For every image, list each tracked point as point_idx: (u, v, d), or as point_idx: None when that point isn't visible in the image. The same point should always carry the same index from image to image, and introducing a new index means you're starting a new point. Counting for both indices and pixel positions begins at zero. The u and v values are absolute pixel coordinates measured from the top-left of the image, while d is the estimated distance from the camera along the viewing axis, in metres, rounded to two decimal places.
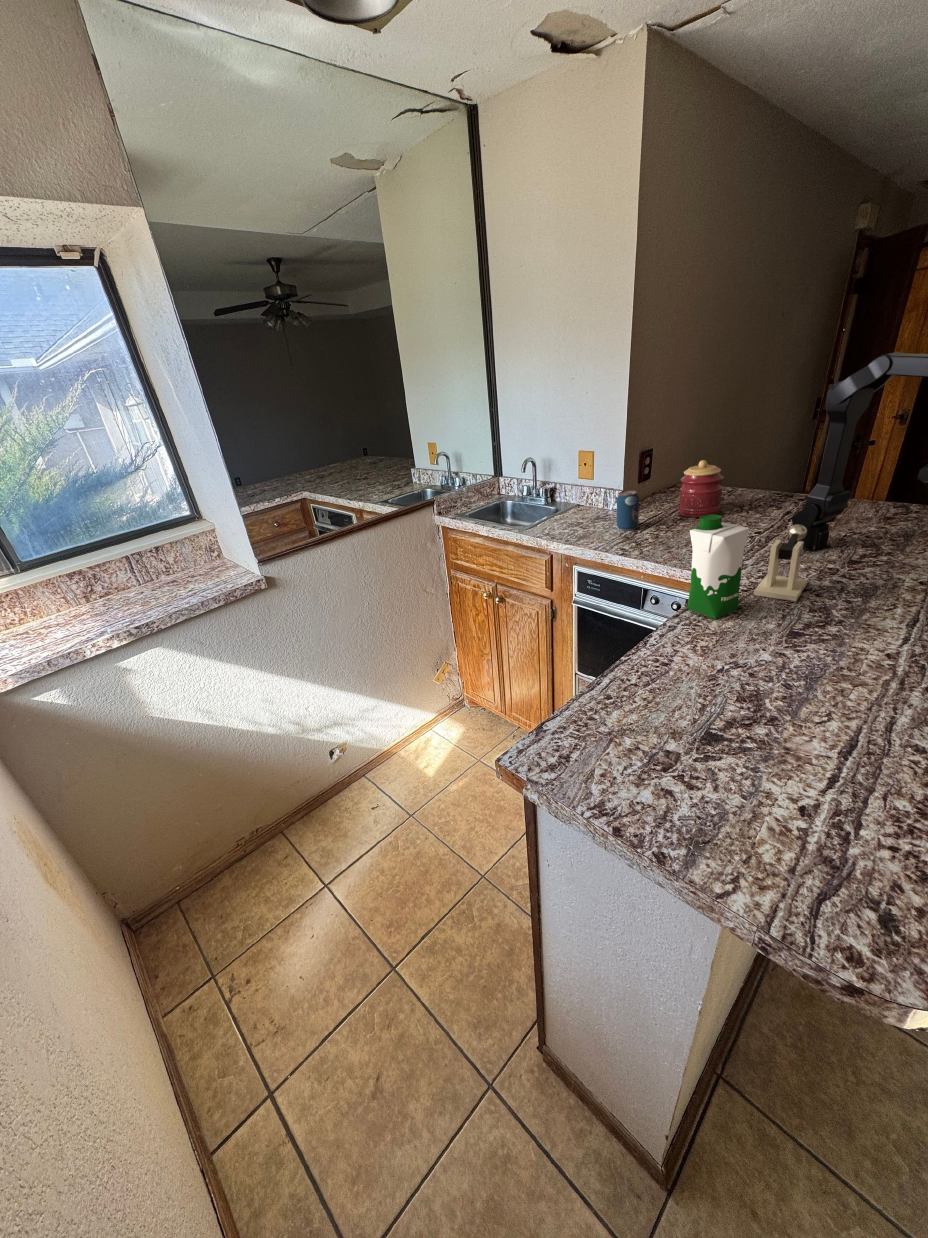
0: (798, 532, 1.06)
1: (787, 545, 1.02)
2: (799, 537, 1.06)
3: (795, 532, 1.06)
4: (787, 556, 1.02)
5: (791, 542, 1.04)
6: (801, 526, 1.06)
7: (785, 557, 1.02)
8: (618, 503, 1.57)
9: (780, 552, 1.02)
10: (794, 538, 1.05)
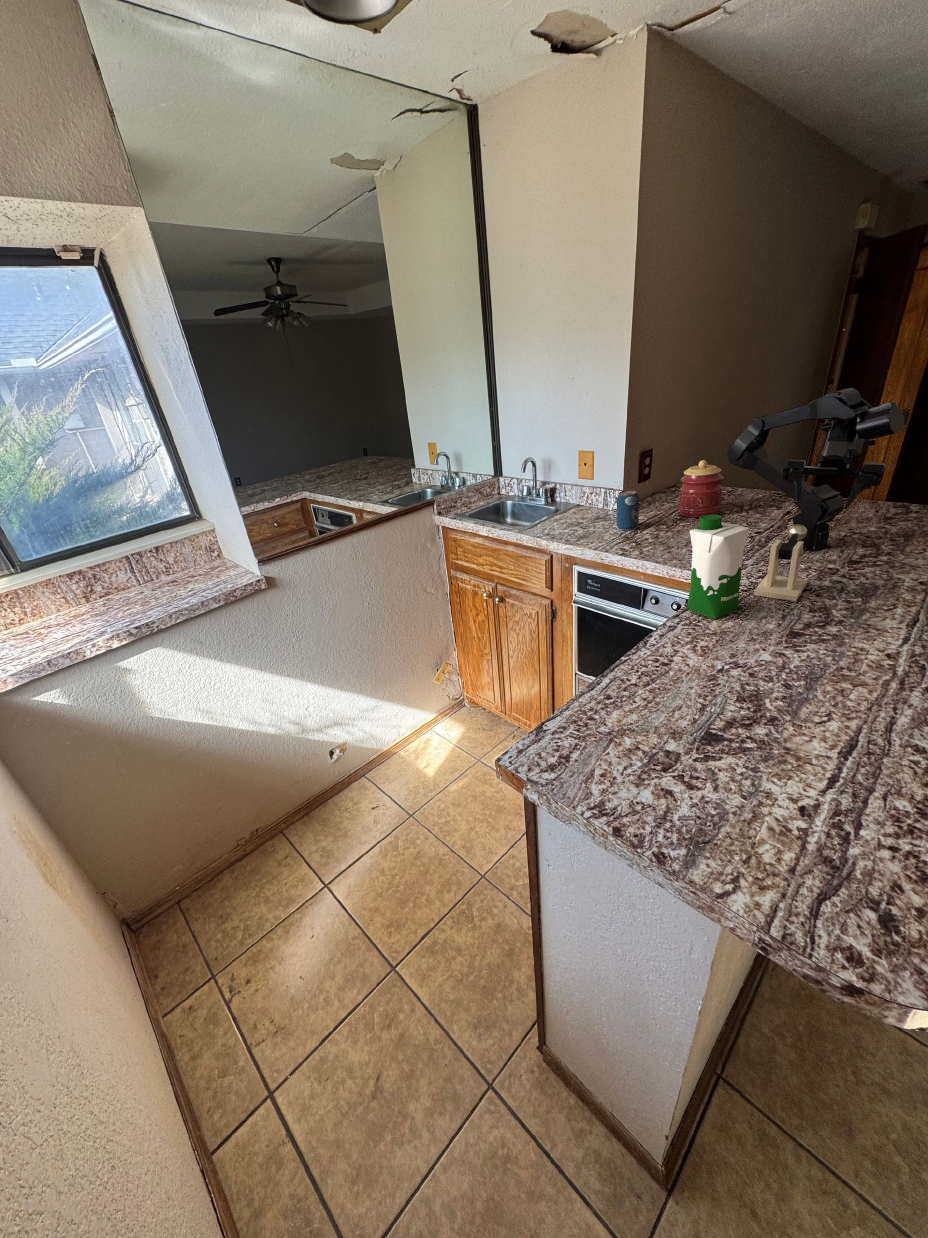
0: (798, 532, 1.06)
1: (787, 545, 1.02)
2: (799, 537, 1.06)
3: (795, 532, 1.06)
4: (787, 556, 1.02)
5: (791, 542, 1.04)
6: (801, 526, 1.06)
7: (785, 557, 1.02)
8: (618, 503, 1.57)
9: (780, 552, 1.02)
10: (794, 538, 1.05)
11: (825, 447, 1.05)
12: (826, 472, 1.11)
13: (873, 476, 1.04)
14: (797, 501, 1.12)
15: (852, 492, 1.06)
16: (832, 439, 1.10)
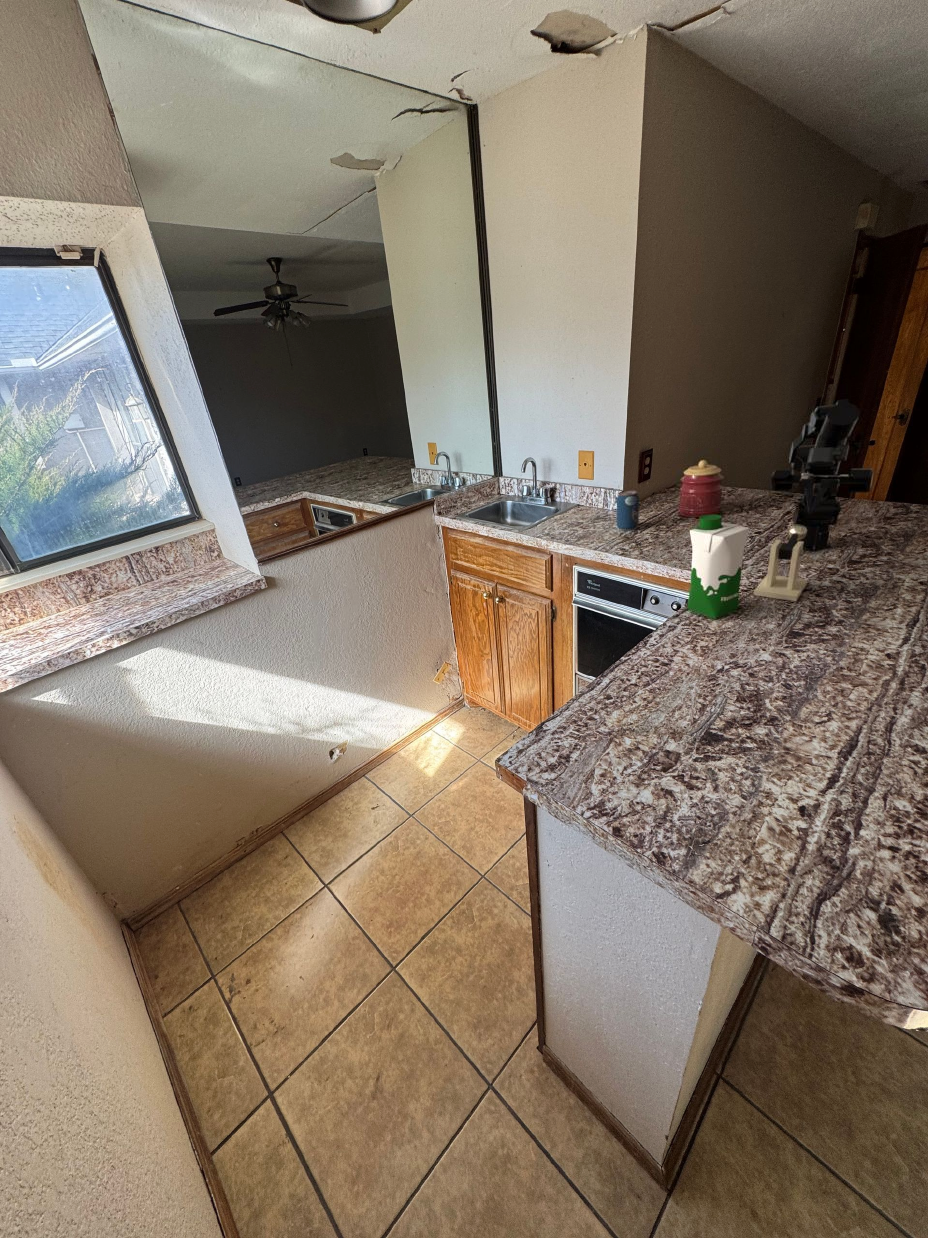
0: (798, 532, 1.06)
1: (787, 545, 1.02)
2: (799, 537, 1.06)
3: (795, 532, 1.06)
4: (787, 556, 1.02)
5: (791, 542, 1.04)
6: (801, 526, 1.06)
7: (785, 557, 1.02)
8: (618, 503, 1.57)
9: (780, 552, 1.02)
10: (794, 538, 1.05)
11: (810, 454, 1.06)
12: (814, 480, 1.10)
13: (835, 481, 1.06)
14: (809, 510, 1.09)
15: (816, 497, 1.08)
16: (819, 448, 1.10)
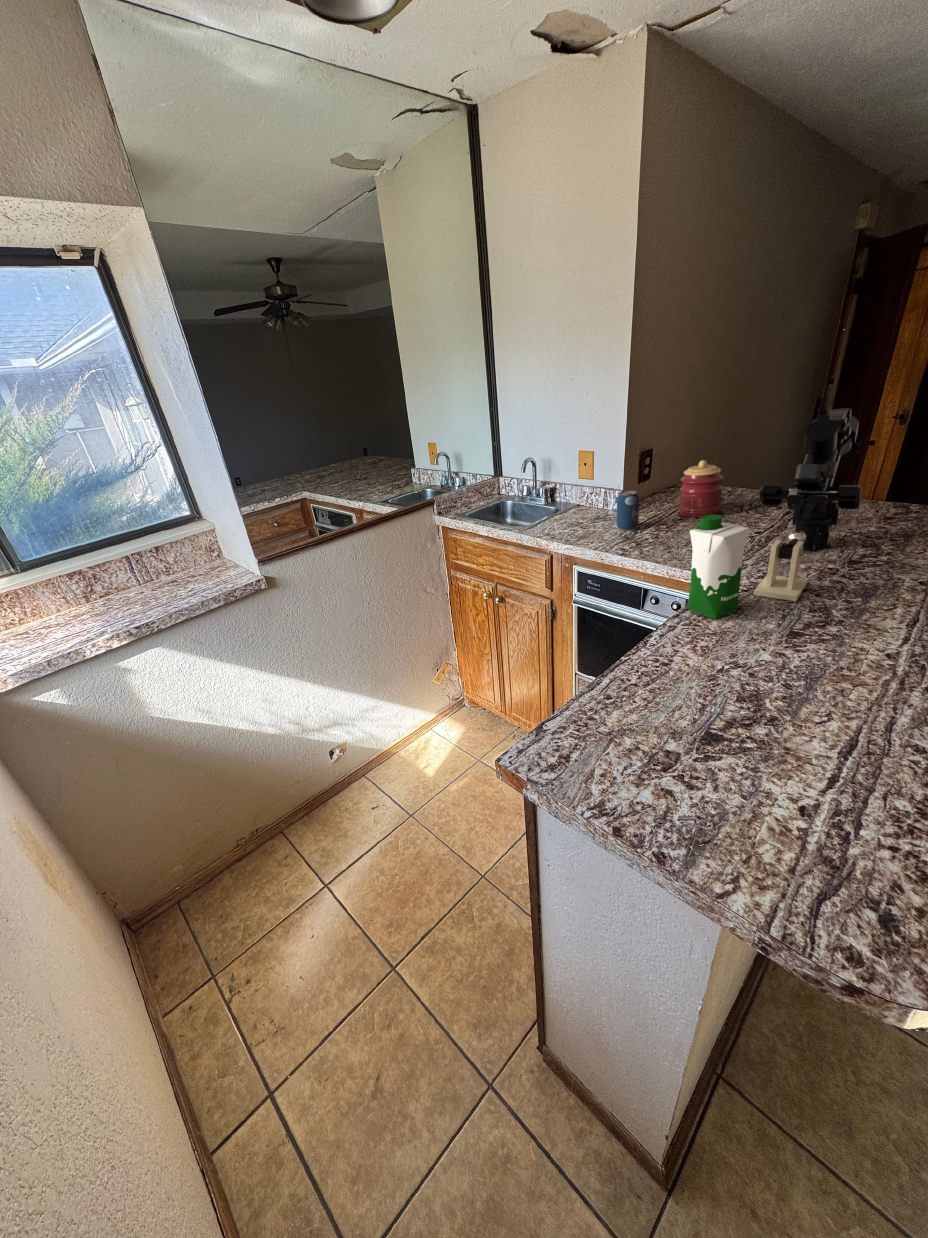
0: (797, 537, 1.07)
1: (787, 545, 1.03)
2: None
3: (794, 537, 1.07)
4: (787, 556, 1.02)
5: (791, 544, 1.04)
6: (800, 531, 1.07)
7: (785, 556, 1.02)
8: (618, 503, 1.57)
9: (780, 551, 1.02)
10: (794, 541, 1.05)
11: (797, 470, 1.04)
12: (803, 496, 1.09)
13: (823, 497, 1.04)
14: (796, 526, 1.07)
15: (804, 514, 1.07)
16: (807, 463, 1.09)
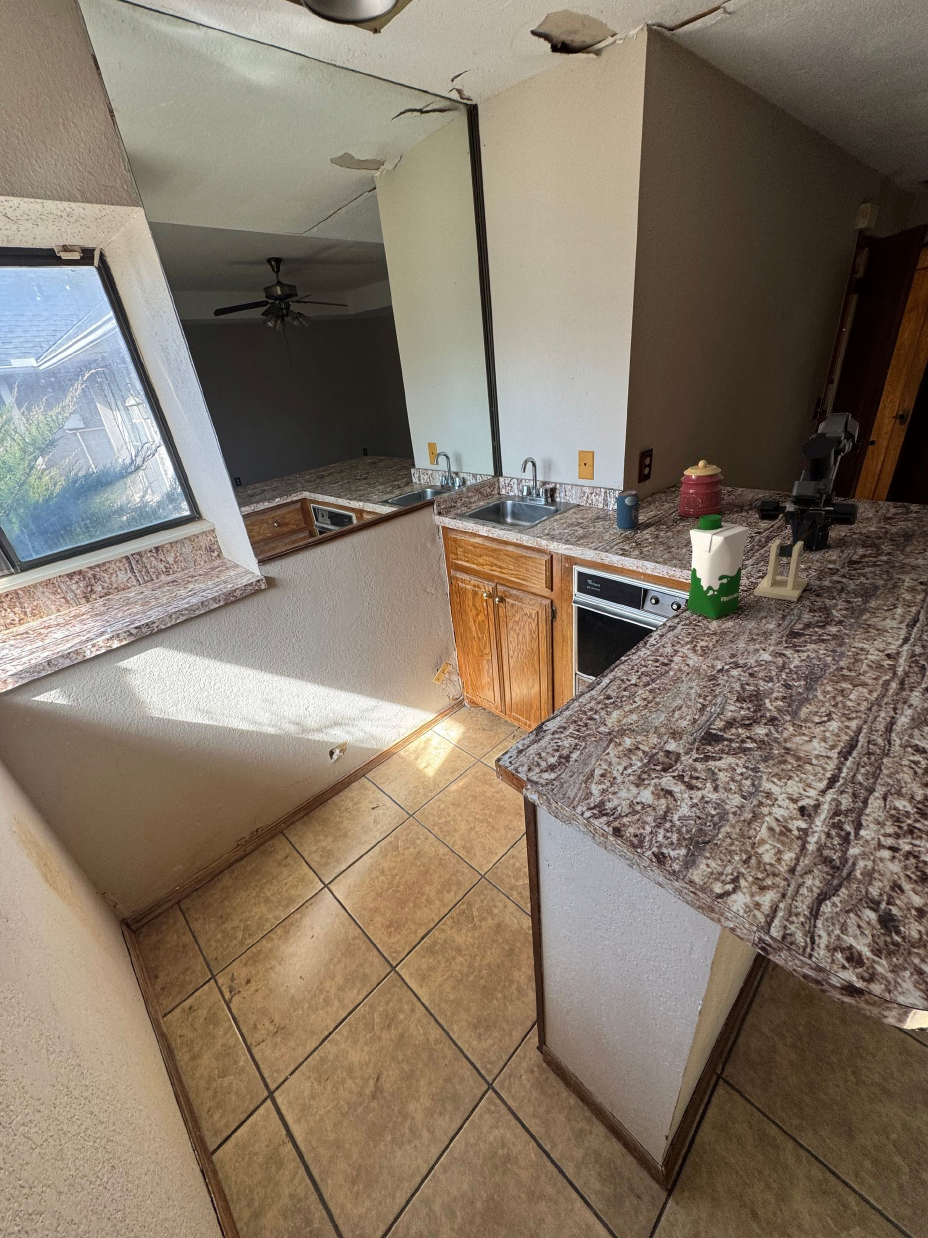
0: None
1: None
2: None
3: None
4: (788, 553, 1.01)
5: None
6: None
7: (785, 554, 1.02)
8: (618, 503, 1.57)
9: (781, 548, 1.02)
10: None
11: (794, 487, 1.05)
12: (800, 511, 1.10)
13: (820, 514, 1.05)
14: (793, 542, 1.08)
15: (801, 529, 1.08)
16: (804, 479, 1.10)
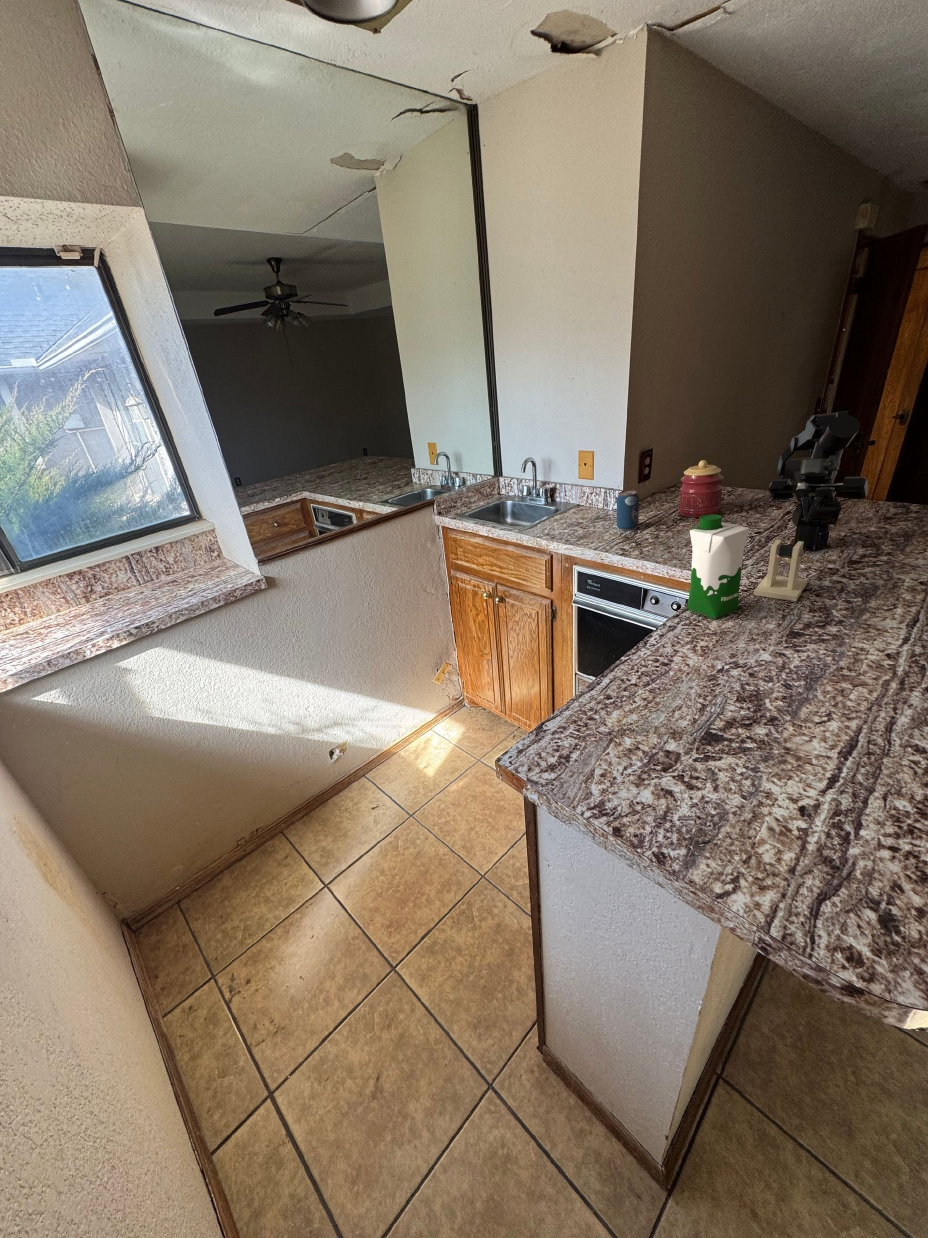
0: None
1: None
2: None
3: None
4: (788, 552, 1.01)
5: None
6: None
7: (785, 553, 1.02)
8: (618, 503, 1.57)
9: (781, 548, 1.02)
10: None
11: (802, 465, 1.10)
12: (811, 489, 1.14)
13: (829, 490, 1.09)
14: (805, 518, 1.12)
15: (812, 506, 1.12)
16: (814, 457, 1.14)
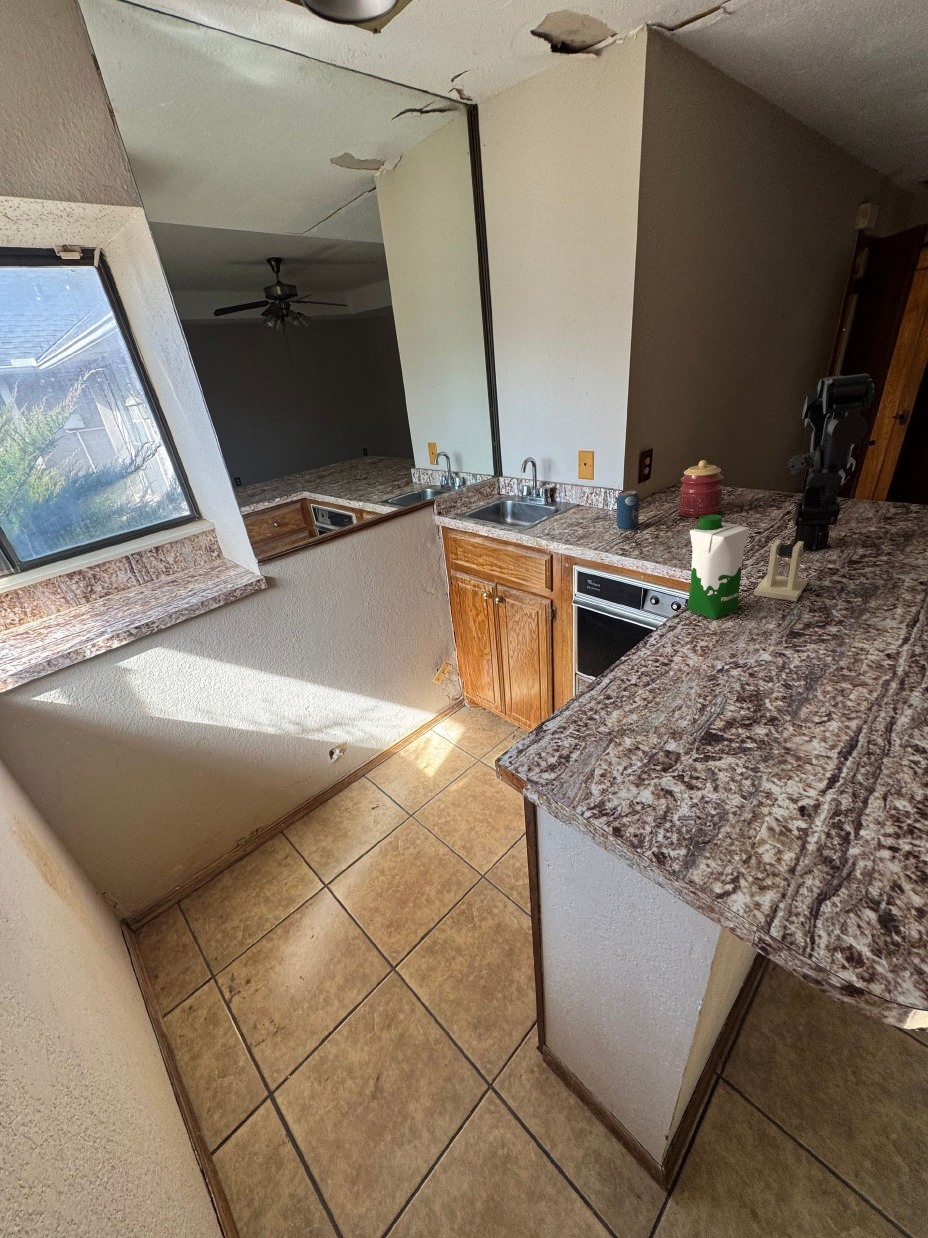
0: None
1: None
2: None
3: None
4: (788, 552, 1.01)
5: None
6: None
7: (785, 553, 1.02)
8: (618, 503, 1.57)
9: (781, 548, 1.02)
10: None
11: None
12: None
13: None
14: None
15: None
16: None
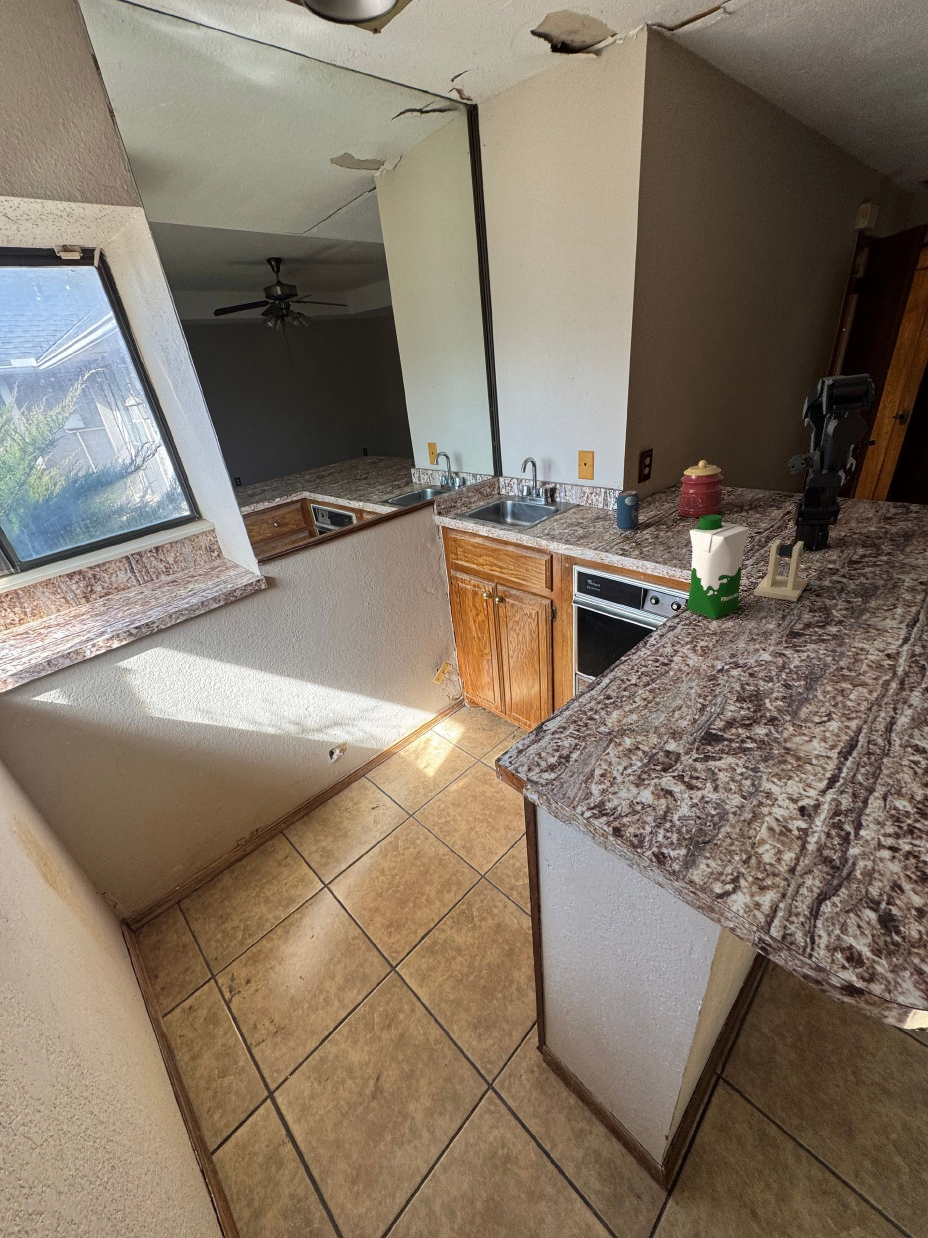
0: None
1: None
2: None
3: None
4: (788, 552, 1.01)
5: None
6: None
7: (785, 553, 1.02)
8: (618, 503, 1.57)
9: (781, 548, 1.02)
10: None
11: None
12: None
13: None
14: None
15: None
16: None
